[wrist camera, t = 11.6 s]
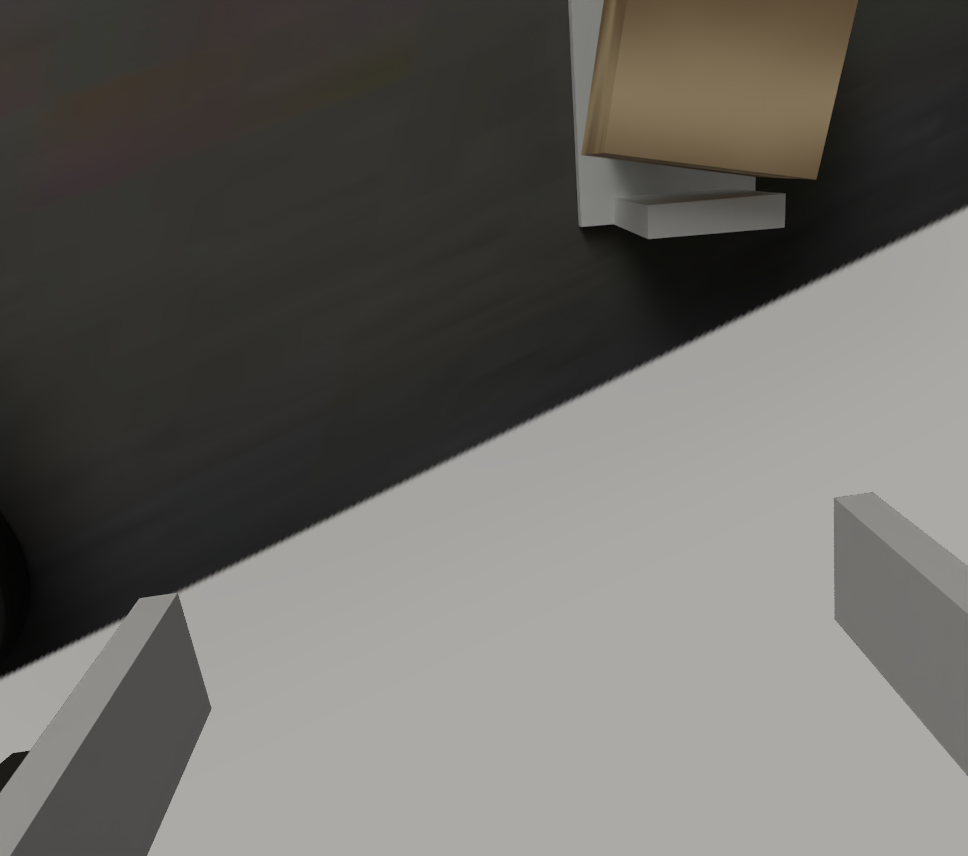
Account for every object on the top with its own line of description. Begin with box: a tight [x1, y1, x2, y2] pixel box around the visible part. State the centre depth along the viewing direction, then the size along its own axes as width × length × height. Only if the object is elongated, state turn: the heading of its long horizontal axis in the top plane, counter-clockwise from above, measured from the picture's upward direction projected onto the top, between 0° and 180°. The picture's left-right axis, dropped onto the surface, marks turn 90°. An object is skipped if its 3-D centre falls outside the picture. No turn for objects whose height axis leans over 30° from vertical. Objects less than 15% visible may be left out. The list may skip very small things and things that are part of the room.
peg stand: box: [568, 0, 786, 239], centre depth 32 cm, size 8×16×9 cm, turn 5°
